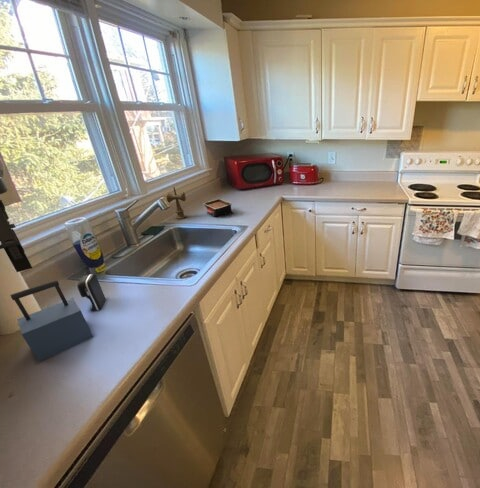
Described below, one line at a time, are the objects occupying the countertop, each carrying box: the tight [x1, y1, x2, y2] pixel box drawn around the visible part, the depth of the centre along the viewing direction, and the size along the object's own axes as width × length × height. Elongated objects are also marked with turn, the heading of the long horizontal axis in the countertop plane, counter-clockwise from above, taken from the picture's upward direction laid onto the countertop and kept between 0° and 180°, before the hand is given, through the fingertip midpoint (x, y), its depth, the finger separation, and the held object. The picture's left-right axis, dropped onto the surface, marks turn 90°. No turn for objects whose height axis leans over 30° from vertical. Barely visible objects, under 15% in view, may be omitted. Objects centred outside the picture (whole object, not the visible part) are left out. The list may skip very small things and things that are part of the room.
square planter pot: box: [202, 198, 233, 218], centre depth 180 cm, size 14×18×10 cm
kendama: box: [165, 186, 187, 220], centre depth 170 cm, size 6×10×20 cm, turn 100°
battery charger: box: [76, 273, 106, 312], centre depth 94 cm, size 7×4×11 cm, turn 23°
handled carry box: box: [9, 279, 94, 363], centre depth 78 cm, size 18×12×9 cm
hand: (21, 261), depth 71 cm, fingers open, 13 cm apart
